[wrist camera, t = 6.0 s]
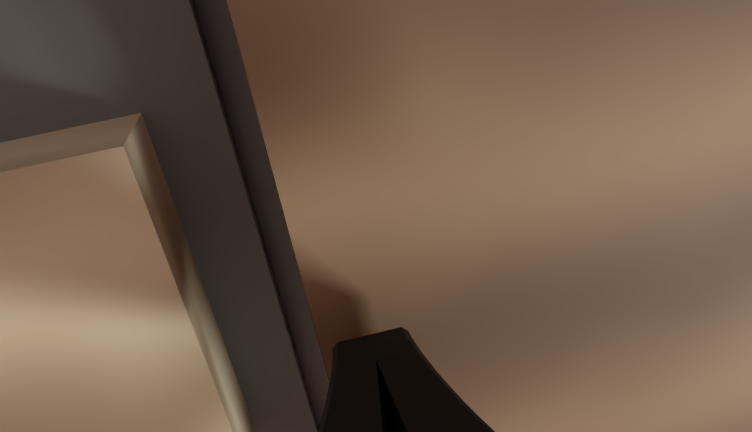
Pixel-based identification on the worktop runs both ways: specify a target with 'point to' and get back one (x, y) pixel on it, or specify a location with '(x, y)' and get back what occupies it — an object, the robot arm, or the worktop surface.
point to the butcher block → (524, 196)
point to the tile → (104, 293)
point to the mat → (163, 159)
